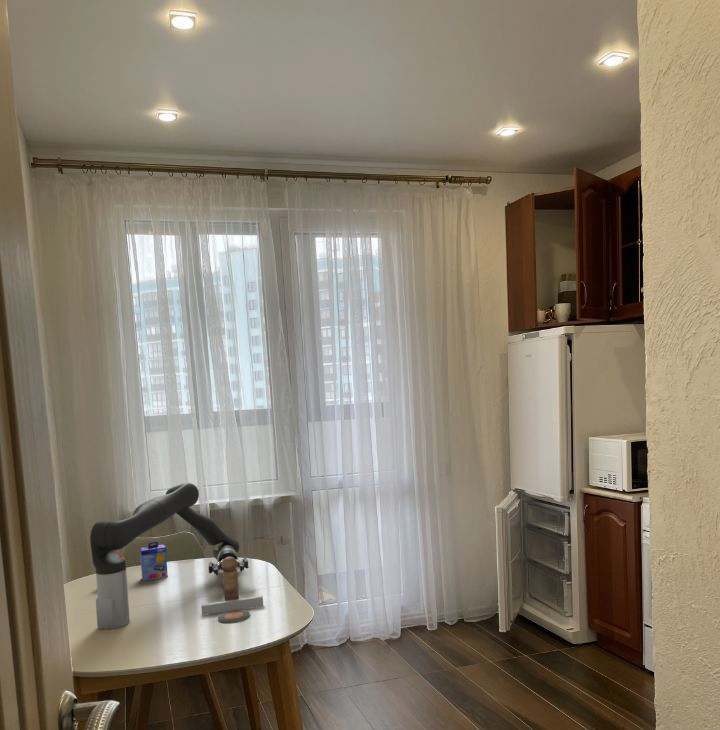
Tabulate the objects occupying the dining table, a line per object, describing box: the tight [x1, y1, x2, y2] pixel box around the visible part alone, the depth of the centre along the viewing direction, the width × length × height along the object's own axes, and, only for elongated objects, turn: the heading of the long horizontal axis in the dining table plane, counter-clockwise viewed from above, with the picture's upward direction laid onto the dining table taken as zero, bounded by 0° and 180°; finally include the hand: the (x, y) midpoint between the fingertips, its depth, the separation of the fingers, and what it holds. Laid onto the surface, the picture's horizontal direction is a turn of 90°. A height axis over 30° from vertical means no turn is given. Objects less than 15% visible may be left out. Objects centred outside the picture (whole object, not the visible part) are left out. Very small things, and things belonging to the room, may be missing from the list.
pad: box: [217, 609, 250, 624], centre depth 215 cm, size 10×10×1 cm
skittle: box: [221, 557, 240, 601], centre depth 230 cm, size 5×5×16 cm
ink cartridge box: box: [139, 540, 169, 582], centre depth 269 cm, size 10×6×14 cm, turn 115°
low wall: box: [200, 595, 264, 616], centre depth 222 cm, size 20×2×3 cm, turn 103°
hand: (229, 570), depth 240 cm, fingers open, 8 cm apart
